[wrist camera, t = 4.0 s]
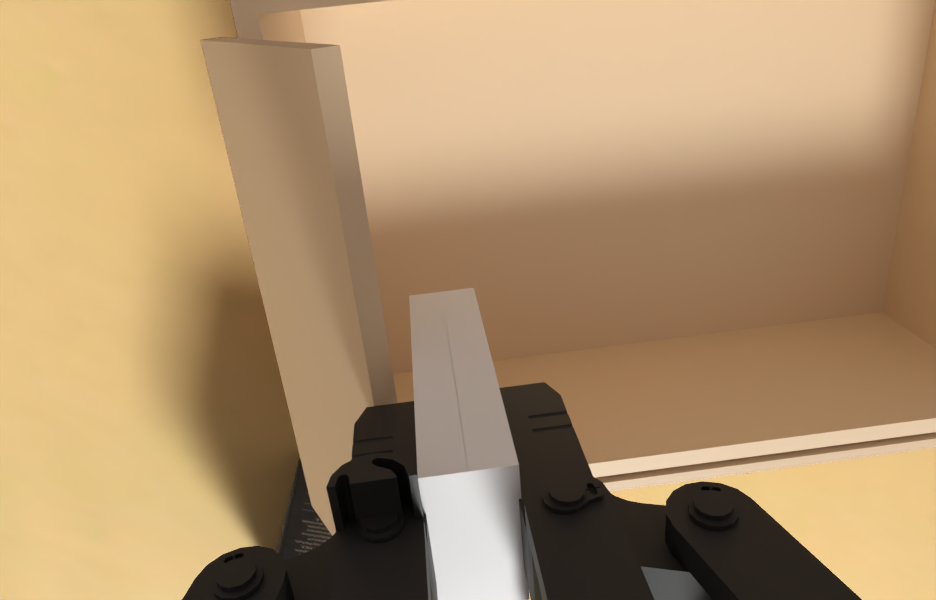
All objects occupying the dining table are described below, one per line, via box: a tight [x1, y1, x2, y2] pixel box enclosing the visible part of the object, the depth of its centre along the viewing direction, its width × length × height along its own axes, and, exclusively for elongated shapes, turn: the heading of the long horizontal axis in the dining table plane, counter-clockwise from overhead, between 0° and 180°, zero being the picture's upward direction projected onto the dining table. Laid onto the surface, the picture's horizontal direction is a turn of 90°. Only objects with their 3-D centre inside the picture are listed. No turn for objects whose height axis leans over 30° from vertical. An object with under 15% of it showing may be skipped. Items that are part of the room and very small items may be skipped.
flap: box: [200, 37, 397, 536], centre depth 17 cm, size 1×14×7 cm, turn 4°
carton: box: [230, 0, 936, 492], centre depth 25 cm, size 25×17×9 cm
